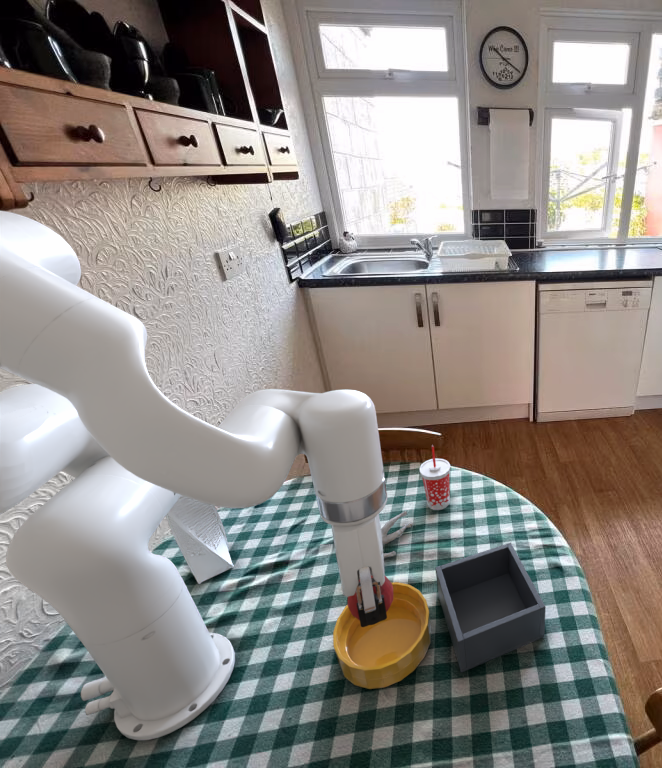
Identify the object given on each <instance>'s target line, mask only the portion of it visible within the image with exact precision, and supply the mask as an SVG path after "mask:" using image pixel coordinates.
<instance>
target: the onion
mask: <svg viewBox="0 0 662 768" xmlns="http://www.w3.org/2000/svg"><path fill="white" fill-rule="evenodd" d="M371 578H373V576H371ZM359 582H360V580H359ZM380 590H381V595H384V601H385V607H386V612H387V611H388V609H389V608H390V606H391V603H392V601H393V586H392V581H391V580H390V579H389V578H388V577H387V576H386V575H385V582H384V584H383V585H382V586H381V585H380ZM373 592H374V594H376V595H377V593H376V587H375V586H374V587H373ZM361 593H362V590H361ZM362 599H363V597H362ZM357 603H358V600H357V594H356V592H355V594H354V595H353V596H349V597H347V605H348V607H349V610H350V612H351V614H352V615H353V616H354V617H355V618H357V619H358V620H360V619H359V614H358V609H357Z"/></svg>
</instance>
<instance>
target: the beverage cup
mask: <svg viewBox="0 0 662 768" xmlns="http://www.w3.org/2000/svg"><path fill="white" fill-rule="evenodd" d="M435 453H436V452H435V446H434V445H431V455H432V458H431V459H428V460H425V461H424V462H423V463H421V464H420V466H419V475H420V476H421V479H422V483H423V488H424V489H423V490H424V493H425V498H426V499H425V500H426V505H427V506H428V508H429V509H430V510H432V511H441V510H444V509H446V508H447V507H448V506H449V505H450V503H451V495H450V494H451V490H450V489H451V487H450V473H451V464H450V462H449V461H448V460H446V459H444V458H438V457H437V458H436V454H435Z"/></svg>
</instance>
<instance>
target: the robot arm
mask: <svg viewBox="0 0 662 768" xmlns="http://www.w3.org/2000/svg"><path fill="white" fill-rule="evenodd" d="M81 276H82V268H81V263H80V260H79V258H78V256H77V253H76V252H75V251H74V249H73V248H72V246H71V245H70V244H69V243H68V242H67V241H66V240H65V239H64V238H63V237H62V236H61V235H60V234H58V233H57V232H55V230H53V229H52V228H50V227H48V226H46V225H45V224H44V223H41V222H40V221H37V220H35V219H32V218H31V217H28V216H25V215H21V214H18V213H15V212H11V211H7V210H6V211H5V210H0V370H3V371H5V372H8V373H10V374H12V375H15V376H16V377H19V378H22V379H23V380H26V381H28V382H31V383H28V384H27V383H26V384H20V385H16V386H12V387H9V388H5V389H3V390H1V391H0V515H2V514H5V513H6V512H8V511H10V510H11V509H13V508H14V507H15V506H17V505H19V504H20V503H21V502H23V501H25V500H26V499H27V498H29V497H30V496H31V495H32V494H34V493H35V492H36V491H38V490H39V489H40V488H42V487H43V486H44V485H45V484H47V483H48V482H49V481H51V480H52V479H53V478H54V477H55V476H57V475H58V474H59V473H61V472H63V473H65V474H67V475H69V476H71V477H73V478H74V479H72V480H71V481H70V482H69V483H67V484H66V485H64V486H63V487H62V488H61V489H60V490H58V491H57V493H55V494H54V495H53V496H51V497H50V498H49V499H47V501H46V502H45V503H43V504H42V505H41V506H40V507H38V508H37V509H36V510H35V511H34V512H33V513H32V514H31V515H30V516H28V518H27V519H26V520H25V521H24V522H23V523H22V524H21V525H20V526H19V528H18V529H17V530H16V531H15V533H14V535H13V536H12V538H11V540H10V542H9V543H8V546H7V549H6V553H5V562H6V568H7V570H8V571H9V573H10V574H11V575H12V577H14V579H15V580H16V581H18V582H19V583H20V584H21V585H23V586H24V587H25V588H27V589H28V590H30V591H31V592H32V593H34V594H35V595H36V596H38V597H40V598H41V599H43V600H44V601H45V602H46V603H47V604H48V605H50V606H51V607H52V608H53V609H54V610H55V611H56V613H58V614H59V615H60V616H61V618H62V619H63V620H64V621H65V623H66V624H67V625H68V626H69V628H70V629H71V630H72V632H73V633H74V635H75V636H76V638H77V639H78V640H79V641H80V643H81V644H82V645H83V646H84V648H85V649H86V651H87V652H88V654H89V655H90V656H91V658H92V659H93V661H94V662H95V663H96V665H97V666H98V668H99V669H100V671H102V673H103V675H104V677H100V678H98V679H95V680H91V681H89V682H86V683H84V684H83V686H82V687H81V690H80V698H81V700H82V701H83V702H86V701H88V702H87V703H86V705H85V709H84V713H85V716H90V715H94V714H96V713H100V712H102V711H103V710H106V709H108V708H110V709H111V710H114V711H113V716H114V717H113V718H114V723H115V726H116V728H117V730H118V731H119V732H120V733H121V735H122V736H125V738H127V739H131V740H134V741H150V740H153V739H159V738H161V737H163V736H166V735H169V734H171V733H173V732H175V731H177V730H178V729H181V728H182V727H184V726H186V725H187V724H189V723H190V722H192V721H193V720H194V719H196V718H197V717H198V716H200V714H202V713H203V712H204V711H205V710H206V709H208V707H209V706H210V705H211V704H212V703H213V702H214V701H215V700H216V699H217V697H218V696H219V695H220V694H221V693H222V691H223V690H224V689H225V687H226V685H227V683H228V682H229V680H230V678H231V676H232V673H233V670H234V667H235V663H236V652H235V650H234V649H235V648H234V647H233V645H232V642H231V641H230V639H228V638H227V637H226V636H224V635H222V634H220V633H217V632H216V633H215V632H210V631H209V630H208V628H207V625H206V623H205V621H204V619H203V617H202V615H201V613H200V611H199V609H198V607H197V605H196V602H195V601H194V599H193V597H192V595H191V593H190V591H189V589H188V587H187V585H186V583H185V581H184V579H183V577H182V576H181V574H180V572H179V569H178V568H177V566H176V565H175V564H174V563H173V562H172V561H171V560H170V559H169V558H167V557H166V556H163V555H161V554H156V553H153V552H151V551H150V550H149V542H150V540H151V538H152V536H153V535H154V533H155V532H156V530H157V529H158V528H159V526H160V524H161V523H162V521H164V518H166V515H167V513H168V512H169V511H170V509H171V508H172V507H173V506H174V504H175V503H176V502H177V500H178V499H179V498H180V496H181V495H182V496H185V497H187V498H190V499H193V500H196V501H199V502H202V503H205V504H209V505H213V506H215V507H218V508H224V509H247V508H253V507H255V506H258V505H262V504H263V503H265V502H266V501H269V500H270V499H271V498H272V497H274V496H275V495H276V494H277V493H278V492H279V491H280V490H281V488H282V486H283V485H284V483H285V482H286V480H287V478H288V476H289V474H290V471H291V470H292V468H293V465H294V463H295V460H296V458H297V456H299V455H305V456H306V459H307V463H308V469H309V472H310V477H311V482H312V485H313V491H314V494H315V499H316V504H317V508H318V512H319V516H320V519H322V521H323V522H325V523H326V524H327V525H330V526H331V534H332V540H333V545H334V547H333V548H334V552H335V557H336V564H337V568H338V573H339V579H340V585H341V591H342V595H343V596H344V597H346V598H348V597H349V596H353V595H354V594H355V592H356V594H357V600H358V603H357V609H358V614H359V619H360V624H361V627H366V626H369V625H373V624H376V623H378V622H380V621H383V620H386V619H387V614H386V607H385V601H384V595H381V590H380V585H381V586H382V585H383V584H384V582H385V576H386V575H385V558H384V557H383V553H384V545H383V544H382V534H381V529H382V526H381V520H380V513H381V512H382V511H383V510H384V509H385V507H386V504H387V503H388V493H387V486H386V478H385V469H384V463H383V456H382V449H381V441H380V433H379V432H380V431H379V425H378V418H377V411H376V405H375V404H374V402H373V400H372V398H371V397H370V396H368V395H367V394H366V393H365V392H361V391H359V390H356V389H335V390H330V391H324V392H322V393H321V392H310V391H309V392H308V391H298V390H290V389H283V388H282V389H280V388H265V389H260V390H256V391H253V392H251V393H248V394H247V395H245V396H244V397H243V398H242V399H240V400H239V402H238V403H236V405H235V406H234V407H233V408H232V410H231V411H230V412H229V413H228V414H227V416H226V417H225V418H224V419H222V421H221V422H220V424H219V425H218V426H215V425H213V424H211V423H209V422H206V421H204V420H203V419H200V418H198V417H196V416H194V415H192V414H191V413H189V412H188V411H185V410H184V409H182V408H181V407H180V406H178V405H177V404H175V403H173V401H171V400H170V399H169V397H167V396H166V395H165V394H163V393H162V391H161V390H160V389H159V388H158V386H156V384H155V382H154V381H153V379H152V377H151V376H150V373H149V371H148V367H147V362H146V353H145V351H146V346H147V342H148V330H147V328H146V326H145V324H144V323H143V322H142V321H141V320H140V319H138V318H137V317H136V316H134V315H132V314H130V313H128V312H127V311H124V310H122V309H120V308H119V307H117V306H115V305H113V304H111V303H109V302H107V301H105V300H104V299H102V298H100V297H98V296H96V295H95V294H92V293H91V292H89V291H87V290H85V289H84V288H81V287H80V286H78V284H79V282H80V280H81V278H82V277H81ZM371 576H373V578H371ZM359 580H360V582H359ZM374 586H375V587H376V593H377V595H376V594H374V592H373V587H374ZM361 590H362V593H361ZM362 597H363V599H362ZM110 692H111V694H110V695H108V696H105V697H101V698H98V699H94V698H97V697H100V696H103V695H105V694H107V693H110ZM92 699H94V700H92ZM89 700H92V701H89Z"/></svg>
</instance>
